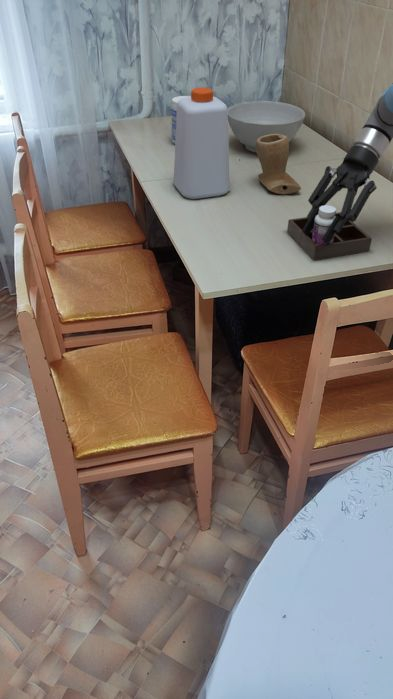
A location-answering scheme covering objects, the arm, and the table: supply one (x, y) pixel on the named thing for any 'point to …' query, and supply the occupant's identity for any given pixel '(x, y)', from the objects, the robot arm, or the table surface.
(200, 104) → the plastic bottle
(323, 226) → the pill bottle
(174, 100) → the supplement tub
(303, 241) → the grid
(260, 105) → the decorative bowl
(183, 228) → the table surface
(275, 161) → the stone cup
